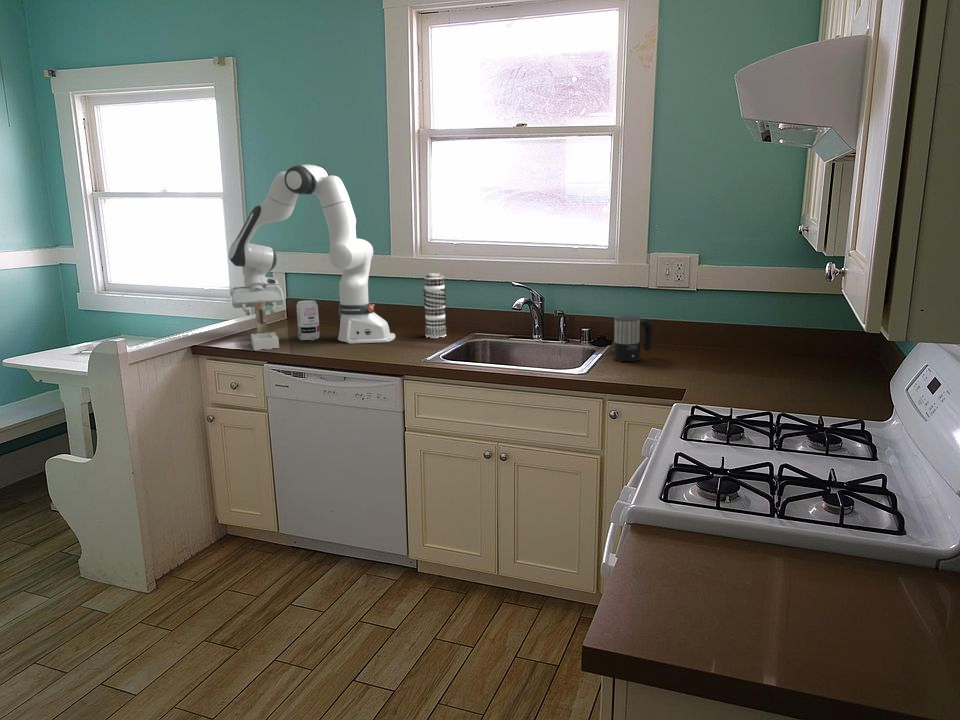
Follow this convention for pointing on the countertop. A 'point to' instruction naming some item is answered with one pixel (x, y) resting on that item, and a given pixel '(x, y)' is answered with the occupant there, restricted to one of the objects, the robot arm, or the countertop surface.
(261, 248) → the robot arm
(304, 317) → the supplement can
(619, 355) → the milk frother
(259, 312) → the beige wooden block
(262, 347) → the white rectangular tray
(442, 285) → the decorative candle
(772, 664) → the countertop surface
